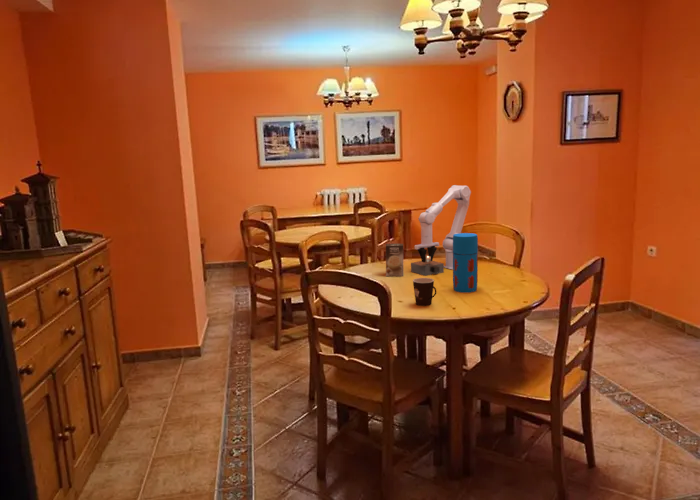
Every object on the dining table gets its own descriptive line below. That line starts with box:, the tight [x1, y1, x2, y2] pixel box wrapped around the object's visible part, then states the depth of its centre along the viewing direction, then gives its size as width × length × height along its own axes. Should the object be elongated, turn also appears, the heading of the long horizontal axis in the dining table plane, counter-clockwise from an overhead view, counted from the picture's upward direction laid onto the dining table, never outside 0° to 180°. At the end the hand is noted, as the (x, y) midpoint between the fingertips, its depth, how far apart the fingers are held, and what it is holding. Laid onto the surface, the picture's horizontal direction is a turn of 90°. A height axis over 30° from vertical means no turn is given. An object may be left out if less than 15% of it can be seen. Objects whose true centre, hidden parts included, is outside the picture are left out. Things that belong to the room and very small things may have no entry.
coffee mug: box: [412, 277, 437, 307], centre depth 211 cm, size 12×9×10 cm
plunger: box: [426, 254, 431, 264], centre depth 269 cm, size 4×4×8 cm
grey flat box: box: [410, 260, 445, 277], centre depth 268 cm, size 12×14×5 cm
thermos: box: [452, 232, 479, 294], centre depth 231 cm, size 11×11×25 cm
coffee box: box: [385, 243, 404, 277], centre depth 264 cm, size 9×6×16 cm
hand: (427, 261), depth 268 cm, fingers closed on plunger, 4 cm apart
